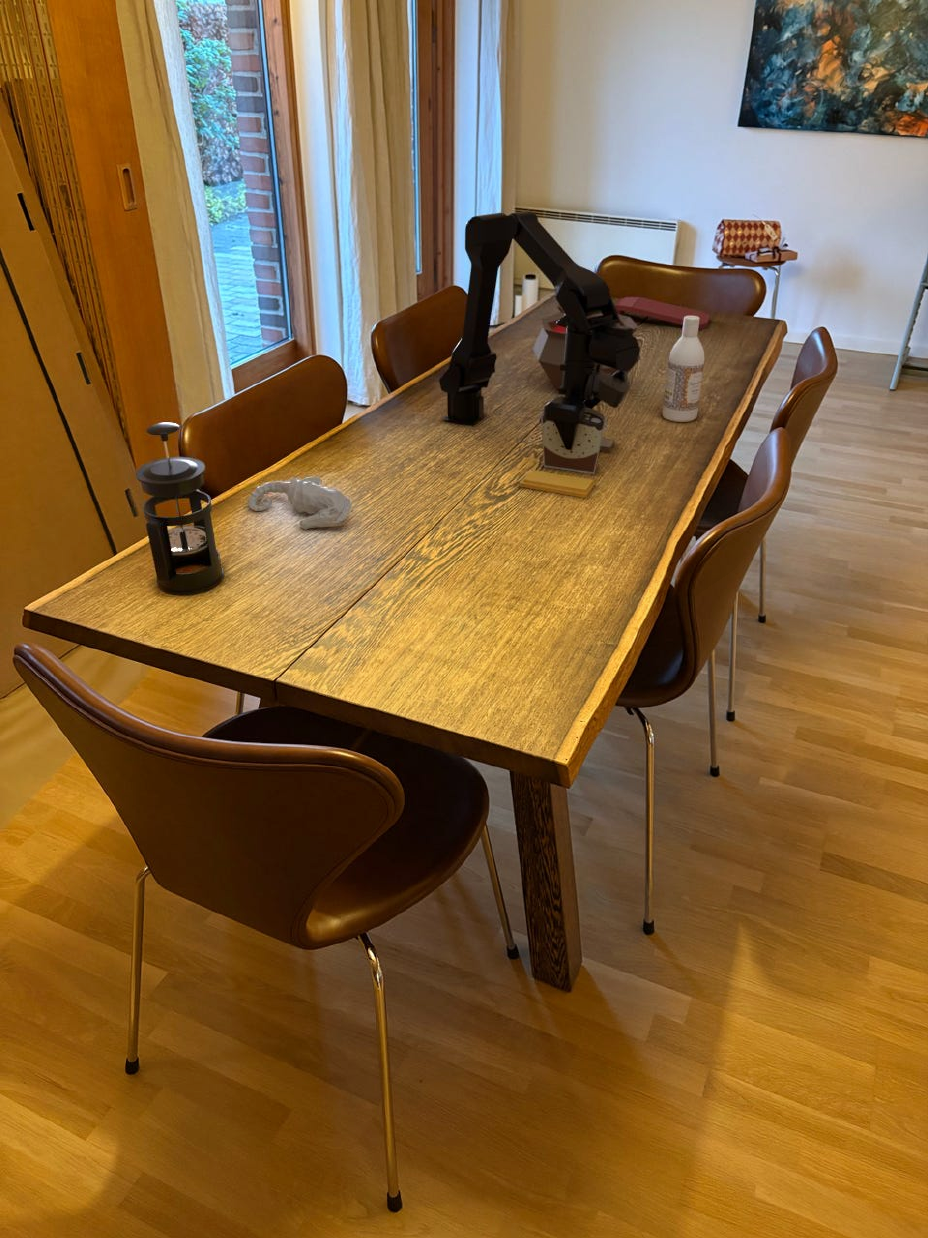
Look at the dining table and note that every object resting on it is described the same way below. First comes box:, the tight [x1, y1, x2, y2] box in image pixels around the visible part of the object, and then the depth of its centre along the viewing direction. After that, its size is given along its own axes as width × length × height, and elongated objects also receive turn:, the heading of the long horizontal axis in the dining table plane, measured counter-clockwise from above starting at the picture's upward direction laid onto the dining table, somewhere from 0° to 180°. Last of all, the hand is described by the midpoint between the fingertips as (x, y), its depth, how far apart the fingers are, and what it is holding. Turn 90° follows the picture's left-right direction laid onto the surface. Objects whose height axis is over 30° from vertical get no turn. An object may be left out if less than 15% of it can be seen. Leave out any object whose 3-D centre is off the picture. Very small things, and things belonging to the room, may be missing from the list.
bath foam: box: [661, 316, 705, 423], centre depth 182 cm, size 7×7×20 cm
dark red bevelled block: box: [614, 296, 711, 330], centre depth 250 cm, size 12×5×25 cm
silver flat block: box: [599, 437, 616, 453], centre depth 174 cm, size 8×4×1 cm, turn 66°
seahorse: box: [247, 476, 353, 531], centre depth 148 cm, size 5×12×20 cm
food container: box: [537, 408, 608, 475], centre depth 164 cm, size 12×6×10 cm, turn 71°
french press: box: [135, 422, 225, 596], centre depth 125 cm, size 12×9×23 cm
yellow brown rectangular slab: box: [518, 469, 595, 499], centre depth 158 cm, size 12×5×1 cm, turn 67°
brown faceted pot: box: [532, 304, 642, 391], centre depth 200 cm, size 24×24×16 cm
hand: (574, 443), depth 164 cm, fingers closed on food container, 6 cm apart
